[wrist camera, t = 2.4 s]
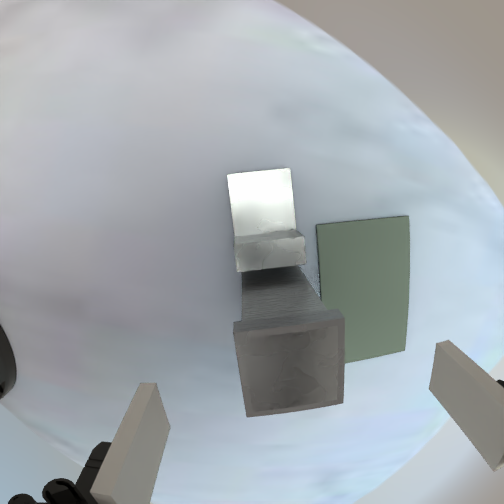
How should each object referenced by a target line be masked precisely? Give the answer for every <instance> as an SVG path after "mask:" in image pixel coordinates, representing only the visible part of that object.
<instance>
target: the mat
mask: <svg viewBox="0 0 504 504" xmlns="http://www.w3.org/2000/svg"><path fill="white" fill-rule="evenodd" d="M316 231H317V244H318V258H319V274H320V292H321V301H322V302H323V304H324V305H325V307H326V308H327V310H331V309H339V311H340V312H341V313H342V315H343V316H344V317H345V363H350V362H355V361H360V360H365V359H370V358H374V357H379V356H383V355H388V354H392V353H396V352H401V351H405V345H406V333H407V320H408V304H409V278H410V232H409V216H399V217H389V218H378V219H368V220H358V221H348V222H339V223H329V224H319V225H316Z"/></svg>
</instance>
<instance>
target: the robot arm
mask: <svg viewBox="0 0 504 504" xmlns="http://www.w3.org/2000/svg"><path fill="white" fill-rule="evenodd" d="M15 379H16V367H15V361H14V357H13V354H12V351H11V348H10V345H9V343H8V340H7V338H6V336H5V334H4V332H3V330H2V329H1V327H0V399H1V398H3V397H4V396H5V395H6V394H7V393H8V392H9V391H10V390H11V389H12V387H13V386H14V383H15ZM429 390H430V391H431V392H432V393H433V395H434V396H435V397H436V398H437V400H438V401H439V402H440V403H441V405H442V406H443V407H444V408H445V409H446V411H447V412H448V413H449V414H450V416H451V417H452V418H453V419H454V421H455V422H456V423H457V425H458V426H459V427H460V428H461V430H462V431H463V432H464V433H465V435H466V436H467V437H468V439H469V440H470V441H471V442H472V444H473V445H474V446H475V448H476V449H477V450H478V452H479V453H480V454H481V455H482V457H483V458H484V459H485V461H486V462H487V463H488V465H489V466H490V467H491V469H492V470H493V471H494V472H495V471H496V470H498V469H499V468H501V467H503V466H504V381H502V380H498V381H495V380H494V379H493V378H492V377H491V376H489V374H488V373H486V372H485V371H484V370H483V369H482V368H481V367H480V366H478V365H477V364H476V363H475V362H474V361H473V360H472V359H470V358H469V357H468V356H467V355H466V354H465V353H463V352H462V351H461V350H460V349H459V348H458V347H456V346H455V345H454V344H453V343H452V342H451V341H449V340H447V341H443V342H440V343H436V350H435V356H434V363H433V369H432V374H431V380H430V385H429ZM169 430H170V424H169V422H168V419H167V416H166V413H165V410H164V407H163V404H162V400H161V397H160V394H159V391H158V388H157V384H156V383H140V385H139V387H138V389H137V391H136V393H135V395H134V397H133V399H132V401H131V404H130V406H129V408H128V410H127V412H126V414H125V416H124V418H123V420H122V422H121V424H120V427H119V429H118V431H117V433H116V435H115V437H114V439H113V442H112V443H110V442H101V443H99V444H98V445H97V446H96V447H95V448H94V449H93V450H92V452H91V454H90V456H89V460H87V462H86V464H85V467H84V468H83V470H82V472H81V474H80V476H79V478H78V480H77V482H76V484H75V485H74V483H73V482H72V481H70V480H68V479H64V478H59V479H54V480H52V481H50V482H48V483H47V484H46V485H45V486H44V489H43V491H42V496H43V498H44V499H45V500H46V502H47V503H37V502H36V501H35V500H34V499H33V498H32V496H30V495H28V494H18V495H15V496H14V497H12V498H11V499H10V500H9V502H8V504H150V500H151V496H152V492H153V489H154V485H155V481H156V477H157V474H158V470H159V466H160V463H161V459H162V455H163V452H164V448H165V445H166V441H167V437H168V434H169Z"/></svg>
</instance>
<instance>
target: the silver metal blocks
mask: <svg viewBox="0 0 504 504" xmlns="http://www.w3.org/2000/svg"><path fill="white" fill-rule="evenodd" d="M227 178H228V186H229V195H230V203H231V211H232V220H233V228H234V236H235V237H234V253H235V261H236V268H237V272H243V271H251V270H260V269H269V268H277V267H285V266H293V265H302V264H306V252H305V240H304V236H303V235H302V234H301V233H300V232H298V231H297V230H296V222H295V212H294V201H293V192H292V182H291V173H290V168H285V169H274V170H264V171H255V172H245V173H237V174H229V175H227Z"/></svg>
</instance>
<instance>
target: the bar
mask: <svg viewBox="0 0 504 504" xmlns="http://www.w3.org/2000/svg"><path fill="white" fill-rule="evenodd" d="M233 334H234V341H235V347H236V354H237V360H238V367H239V373H240V379H241V385H242V391H243V397H244V403H245V409H246V415H247V417H255V416H265V415H273V414H281V413H289V412H296V411H302V410H309V409H315V408H320V407H326V406H331V405H337V404H342V403H343V397H344V365H345V317H344V316H343V315H342V313H341V312H340V311H339V309H331V310H327V308H326V307H325V305H324V304H323V302H322V301H321V299H320V298H319V296H318V295H317V293H316V292H315V290H314V289H313V287H312V286H311V284H310V283H309V281H308V280H307V278H306V277H305V275H304V274H303V273H302V271H301V270H300V268H299V267H298V265H293V266H285V267H277V268H269V269H260V270H251V271H243V272H242V321H238V322H234V328H233Z"/></svg>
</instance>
